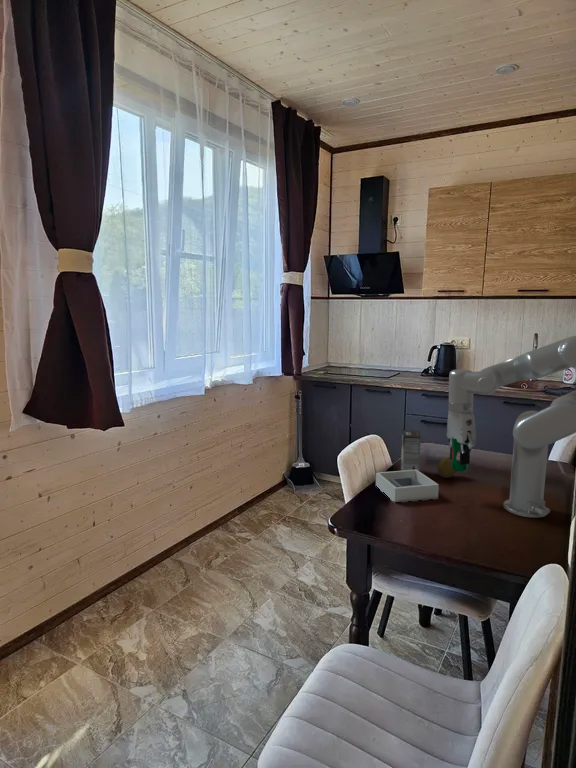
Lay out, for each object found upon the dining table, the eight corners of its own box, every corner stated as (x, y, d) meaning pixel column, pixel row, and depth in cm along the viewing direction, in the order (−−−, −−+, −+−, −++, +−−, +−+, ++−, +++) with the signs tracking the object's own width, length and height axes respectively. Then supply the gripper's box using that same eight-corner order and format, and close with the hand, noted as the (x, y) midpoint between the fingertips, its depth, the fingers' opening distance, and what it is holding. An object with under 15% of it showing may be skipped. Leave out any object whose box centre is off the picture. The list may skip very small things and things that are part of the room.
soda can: (457, 472, 159) (457, 437, 157) (448, 468, 164) (448, 433, 162) (470, 471, 160) (471, 435, 158) (461, 466, 165) (462, 432, 163)
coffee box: (400, 469, 192) (401, 429, 189) (417, 470, 191) (418, 430, 188) (401, 477, 183) (403, 436, 180) (419, 478, 182) (421, 436, 179)
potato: (459, 475, 185) (460, 455, 183) (455, 482, 178) (457, 461, 177) (440, 473, 188) (441, 453, 187) (436, 479, 181) (437, 458, 180)
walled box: (438, 498, 163) (438, 484, 162) (394, 503, 159) (395, 488, 158) (415, 482, 178) (416, 469, 177) (375, 486, 174) (376, 472, 173)
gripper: (487, 411, 151) (485, 468, 154) (456, 402, 168) (455, 453, 170) (465, 413, 150) (464, 470, 152) (436, 403, 166) (436, 455, 169)
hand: (459, 460), depth 161 cm, fingers closed on soda can, 5 cm apart
